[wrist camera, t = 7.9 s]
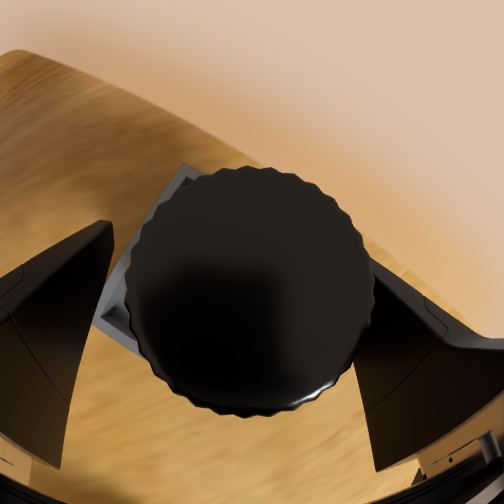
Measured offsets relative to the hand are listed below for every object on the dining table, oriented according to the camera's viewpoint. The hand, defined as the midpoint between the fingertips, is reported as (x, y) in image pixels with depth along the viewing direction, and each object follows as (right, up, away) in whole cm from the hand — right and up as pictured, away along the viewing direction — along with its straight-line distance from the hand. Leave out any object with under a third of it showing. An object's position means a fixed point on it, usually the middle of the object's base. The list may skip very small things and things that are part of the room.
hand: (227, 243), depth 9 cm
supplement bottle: (-1, -3, +8) cm, 8 cm away
